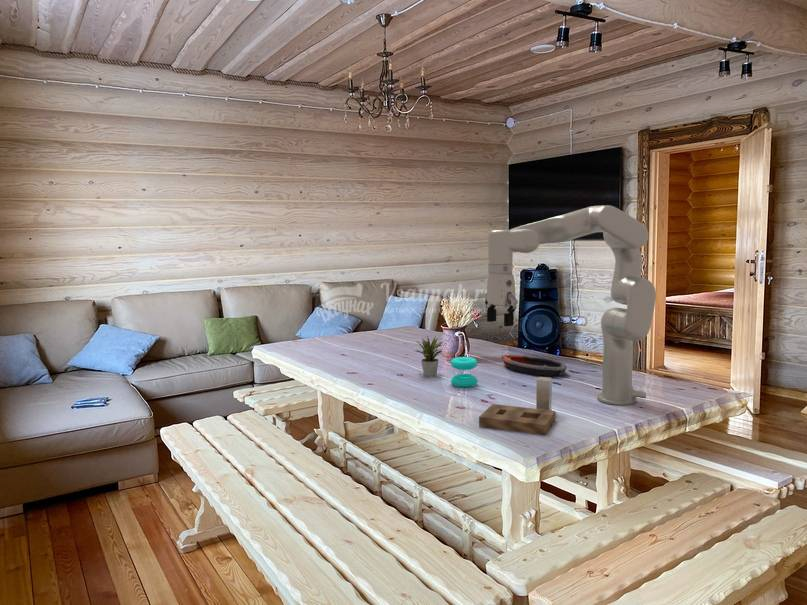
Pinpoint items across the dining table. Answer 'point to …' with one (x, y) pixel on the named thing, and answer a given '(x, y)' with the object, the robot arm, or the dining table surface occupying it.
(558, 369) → the dish
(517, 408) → the walnut bore plate
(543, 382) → the steel square peg
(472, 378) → the donuts
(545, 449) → the dining table surface
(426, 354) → the house plant
